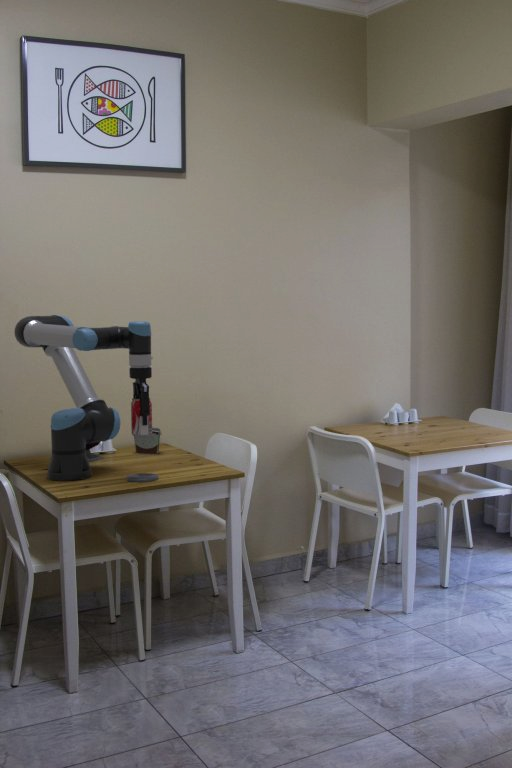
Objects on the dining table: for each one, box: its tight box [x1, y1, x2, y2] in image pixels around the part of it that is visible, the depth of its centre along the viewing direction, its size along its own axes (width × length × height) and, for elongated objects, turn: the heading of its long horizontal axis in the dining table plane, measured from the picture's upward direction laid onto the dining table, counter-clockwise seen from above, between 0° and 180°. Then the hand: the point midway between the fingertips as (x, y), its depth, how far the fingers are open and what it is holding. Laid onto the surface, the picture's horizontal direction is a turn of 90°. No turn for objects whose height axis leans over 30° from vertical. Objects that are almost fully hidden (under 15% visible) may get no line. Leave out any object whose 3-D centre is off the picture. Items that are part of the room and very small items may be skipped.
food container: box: [133, 427, 162, 456], centre depth 343 cm, size 12×6×10 cm, turn 72°
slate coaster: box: [126, 472, 159, 483], centre depth 296 cm, size 11×11×1 cm
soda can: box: [130, 397, 153, 438], centre depth 293 cm, size 7×7×13 cm
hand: (141, 432), depth 294 cm, fingers closed on soda can, 7 cm apart
